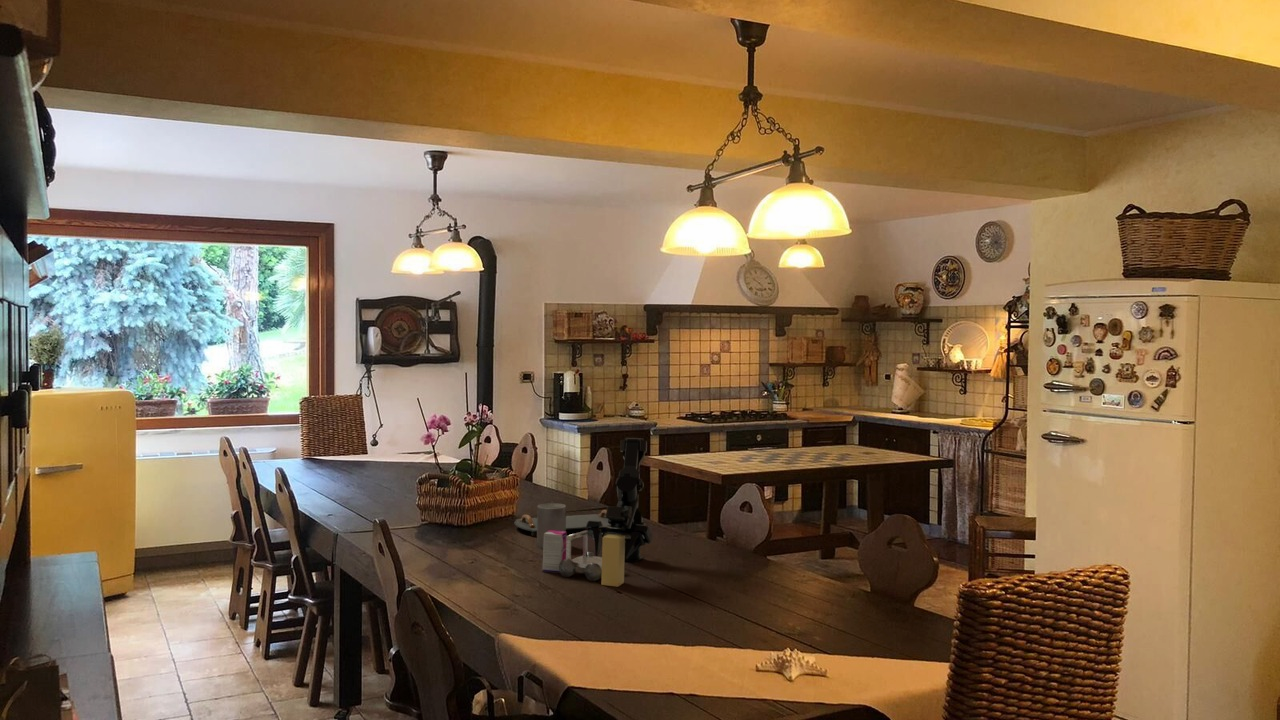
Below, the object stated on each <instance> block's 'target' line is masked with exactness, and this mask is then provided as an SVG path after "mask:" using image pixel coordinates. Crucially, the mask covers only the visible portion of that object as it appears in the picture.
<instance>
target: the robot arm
mask: <svg viewBox="0 0 1280 720" xmlns="http://www.w3.org/2000/svg"><path fill="white" fill-rule="evenodd" d="M647 441H648V440H645V439H644V437H643V438H642V437H640V438H639V437H624V439H621V440H620V450H619V451H620V452H621V453H622V458H623V460H624V462H623V468H622V469H621V470H620V471H619V472H618V477H617V478H616V480H615V484H614V490H615V491H616V492H617V495H616V496H617V498H618V501H617V504H616V506H612V505H611V506H609V505H608V506H607V507H606V510H607V511H606V514H605V516H606V518H608V523H609V524H611V525H610V527H609V526H603V525H602V522H601V521H593V520H590V521H588V522H587V525H586V528H585V530H587V531H588V537H590V538H591V539H593V541H594V547H595V548H594V550H595V553H594V554H595V555H596V557H599V554H600V552H601V550H602V541H603V537H604V536H606V535H608V534H612V535H623V536H625V561H626V562H632V563H636V562H639V561H640V560H644V559H645V556H641V546H646V544H651V542H652V538H653V537H652V536H653V535H652V532H651V530H650V527H649V525H648V524H645V521H643V516H642V513H641V512H640V510H639V494H640V492H641V491H643V489H644V486H645V485H644V481H643V479H642V478H641V477H640V475H641V474H640V466H641V465H642V463H643V461H644V460H645V458H646V457H645V456H646V455H645V454H646V453H647V451H648V450H647V449H648V442H647ZM605 534H606V535H605Z"/></svg>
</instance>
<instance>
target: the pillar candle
mask: <svg viewBox="0 0 1280 720" xmlns="http://www.w3.org/2000/svg"><path fill="white" fill-rule="evenodd" d="M536 509H537V512H536V513H537V514H536V515H537V517H536V518H537V536H536V547H537V548H539V549H541V550H542V549H543V545H544V533H546V532H548V531H549V530H551V531H564V532H567V530H566V516H567V506H566V504H564V503H559V502H558V503H557V502H556V503H555V502H553V501H551V503H550V502H548V503H540V504H538V505H537V508H536Z"/></svg>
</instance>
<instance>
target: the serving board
mask: <svg viewBox="0 0 1280 720" xmlns="http://www.w3.org/2000/svg"><path fill="white" fill-rule="evenodd" d="M606 511H607V509H603V510H601V512H600V513H598V514H596V513H594V514H593V513H592V514H579V515H578V514H575V515H566V531H568V530H582V529H583V530H584V529H586V525H587V522H588V521H590V520H593V521H601V522H602V525H603V526H609V527H610V525H611V524H609V523H608V518H606ZM513 524H514V526H516V527H517V528H519V529H521V530H525V531H527V532H531V537H537V517H531V515H529V514H523V515H521V518H517V519H515V521H514V523H513Z"/></svg>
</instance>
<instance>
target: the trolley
mask: <svg viewBox="0 0 1280 720" xmlns="http://www.w3.org/2000/svg"><path fill="white" fill-rule="evenodd" d="M578 538H582V555H580V556H577V557H575V558H572V541H573V540H575V539H578ZM588 538H589V534H588V531H587V529H585V530H582V531H580V532H579V531H578V532H576V533H572V534H569V535H567V536H566V559H565V560H562V561H561V562H560V564H559V571H560V575H561V576H562V577H564V578H569V577H571V576H573V575H575V573H576V570H577V568H581V569H584V575H585V577H586V579H587V580H588V581H590V582H596V581H599V580H600V579H601V578H602V556H596V554H595V553H594V552H593V551H589V549H588V547H589V545H588V542H589V541H588V540H589V539H588Z"/></svg>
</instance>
